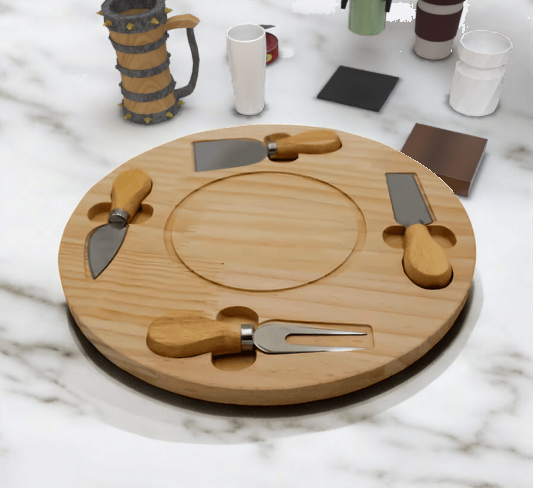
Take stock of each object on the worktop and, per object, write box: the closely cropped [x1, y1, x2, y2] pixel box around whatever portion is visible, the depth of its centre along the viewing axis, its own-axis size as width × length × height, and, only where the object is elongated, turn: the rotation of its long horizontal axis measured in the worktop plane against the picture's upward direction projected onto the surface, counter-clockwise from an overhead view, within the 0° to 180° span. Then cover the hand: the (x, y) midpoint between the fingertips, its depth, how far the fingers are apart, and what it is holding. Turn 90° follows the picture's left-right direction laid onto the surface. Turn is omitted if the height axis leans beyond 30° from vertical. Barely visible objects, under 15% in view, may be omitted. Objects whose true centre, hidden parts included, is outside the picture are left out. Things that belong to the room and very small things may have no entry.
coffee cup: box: [414, 0, 467, 61], centre depth 127 cm, size 10×10×15 cm
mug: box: [95, 0, 201, 126], centre depth 114 cm, size 13×17×20 cm
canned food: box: [258, 24, 280, 67], centre depth 132 cm, size 11×10×10 cm
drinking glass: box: [225, 22, 267, 116], centre depth 115 cm, size 7×7×15 cm
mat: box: [316, 64, 400, 113], centre depth 123 cm, size 12×12×1 cm
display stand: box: [399, 122, 489, 198], centre depth 105 cm, size 12×12×3 cm
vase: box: [448, 29, 514, 117], centre depth 114 cm, size 9×9×12 cm
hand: (365, 2), depth 104 cm, fingers closed on tumbler, 6 cm apart
